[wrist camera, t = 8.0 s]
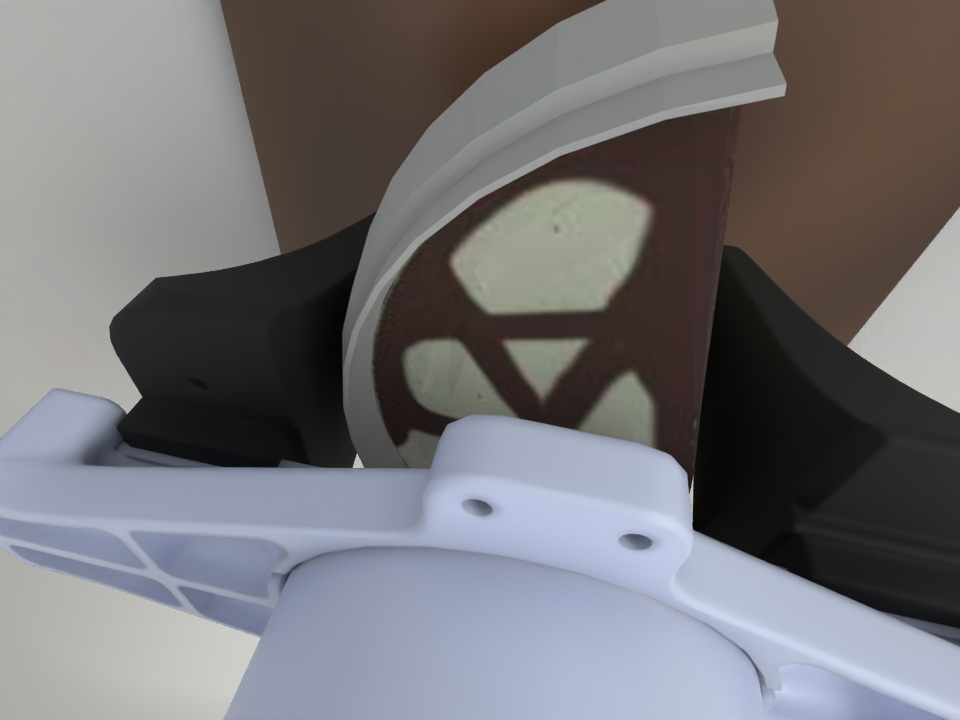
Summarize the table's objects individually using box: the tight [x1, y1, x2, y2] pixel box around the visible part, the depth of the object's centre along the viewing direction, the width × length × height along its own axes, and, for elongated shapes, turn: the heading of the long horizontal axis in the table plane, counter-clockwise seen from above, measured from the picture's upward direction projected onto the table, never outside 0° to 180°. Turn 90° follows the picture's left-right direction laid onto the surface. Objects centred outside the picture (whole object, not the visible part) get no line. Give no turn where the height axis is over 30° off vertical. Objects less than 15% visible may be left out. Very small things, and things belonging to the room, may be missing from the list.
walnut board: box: [220, 0, 960, 346], centre depth 16 cm, size 20×20×1 cm
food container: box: [342, 0, 787, 494], centre depth 12 cm, size 12×6×10 cm, turn 12°
